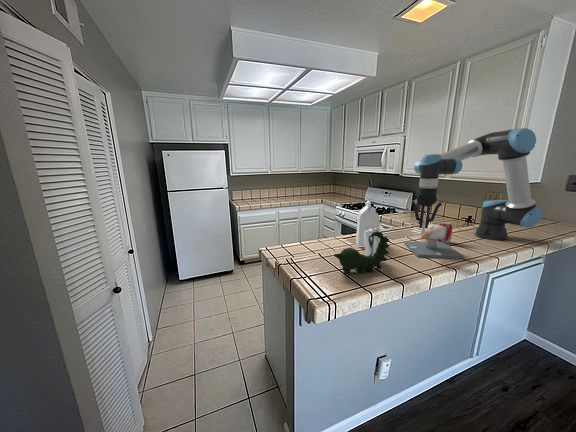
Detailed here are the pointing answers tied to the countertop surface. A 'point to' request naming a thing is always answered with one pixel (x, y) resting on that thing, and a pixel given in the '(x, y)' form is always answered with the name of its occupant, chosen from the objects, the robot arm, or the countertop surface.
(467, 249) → the countertop surface
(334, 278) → the countertop surface
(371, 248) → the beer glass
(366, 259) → the toy figurine
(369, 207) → the milk
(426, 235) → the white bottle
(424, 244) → the post base
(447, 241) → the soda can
